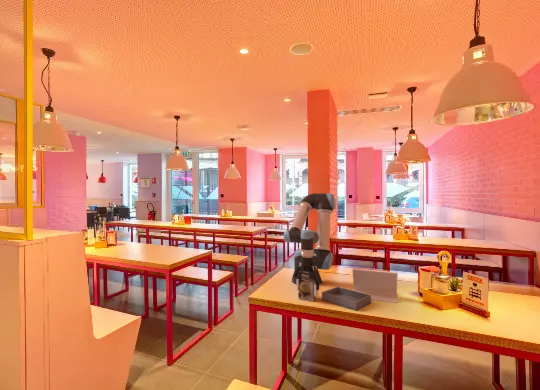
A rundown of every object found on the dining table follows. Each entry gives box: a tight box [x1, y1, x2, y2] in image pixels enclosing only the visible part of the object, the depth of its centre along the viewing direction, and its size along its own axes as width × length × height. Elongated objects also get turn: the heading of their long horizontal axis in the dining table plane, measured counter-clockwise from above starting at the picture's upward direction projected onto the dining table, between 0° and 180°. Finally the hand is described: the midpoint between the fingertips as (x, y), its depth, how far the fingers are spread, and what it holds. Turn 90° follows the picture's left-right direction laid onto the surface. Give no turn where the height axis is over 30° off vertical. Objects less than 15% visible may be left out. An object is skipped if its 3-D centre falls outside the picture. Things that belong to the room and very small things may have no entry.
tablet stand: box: [352, 268, 399, 304], centre depth 170 cm, size 18×25×17 cm
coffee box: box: [297, 271, 317, 302], centre depth 164 cm, size 9×6×16 cm
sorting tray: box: [321, 286, 372, 312], centre depth 160 cm, size 22×16×4 cm
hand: (307, 292), depth 164 cm, fingers open, 13 cm apart
